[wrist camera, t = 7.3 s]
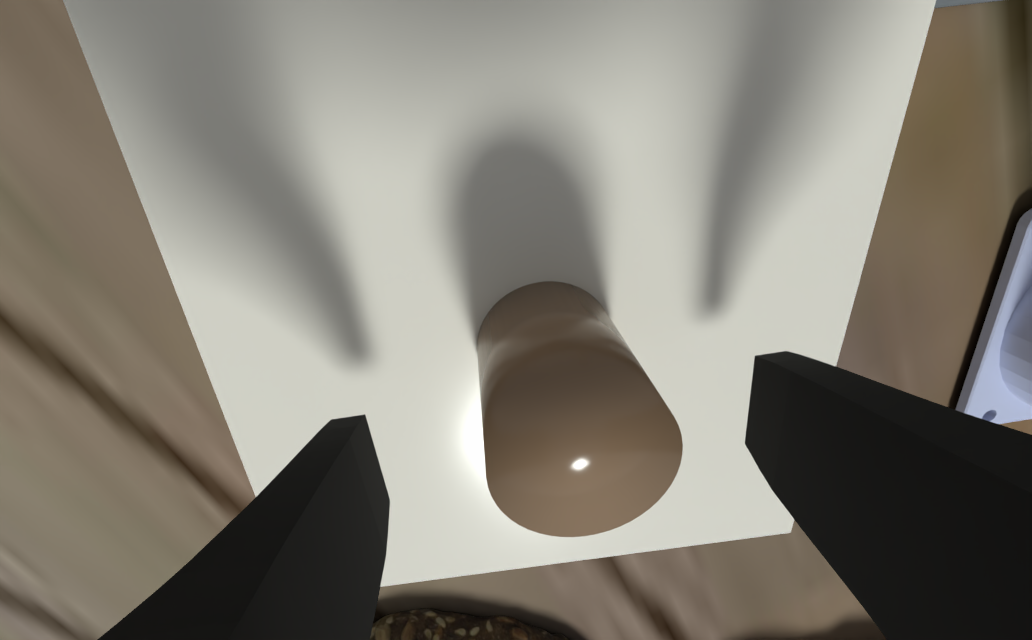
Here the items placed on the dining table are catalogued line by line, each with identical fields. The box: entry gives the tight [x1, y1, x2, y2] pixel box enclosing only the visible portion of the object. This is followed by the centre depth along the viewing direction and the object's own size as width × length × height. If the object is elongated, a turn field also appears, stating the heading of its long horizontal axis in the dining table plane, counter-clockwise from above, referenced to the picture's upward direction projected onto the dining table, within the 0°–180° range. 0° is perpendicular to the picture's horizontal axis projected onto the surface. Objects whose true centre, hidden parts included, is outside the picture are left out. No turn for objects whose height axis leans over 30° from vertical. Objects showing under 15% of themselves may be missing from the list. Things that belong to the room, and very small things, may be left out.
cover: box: [63, 0, 936, 587], centre depth 11 cm, size 14×14×7 cm
